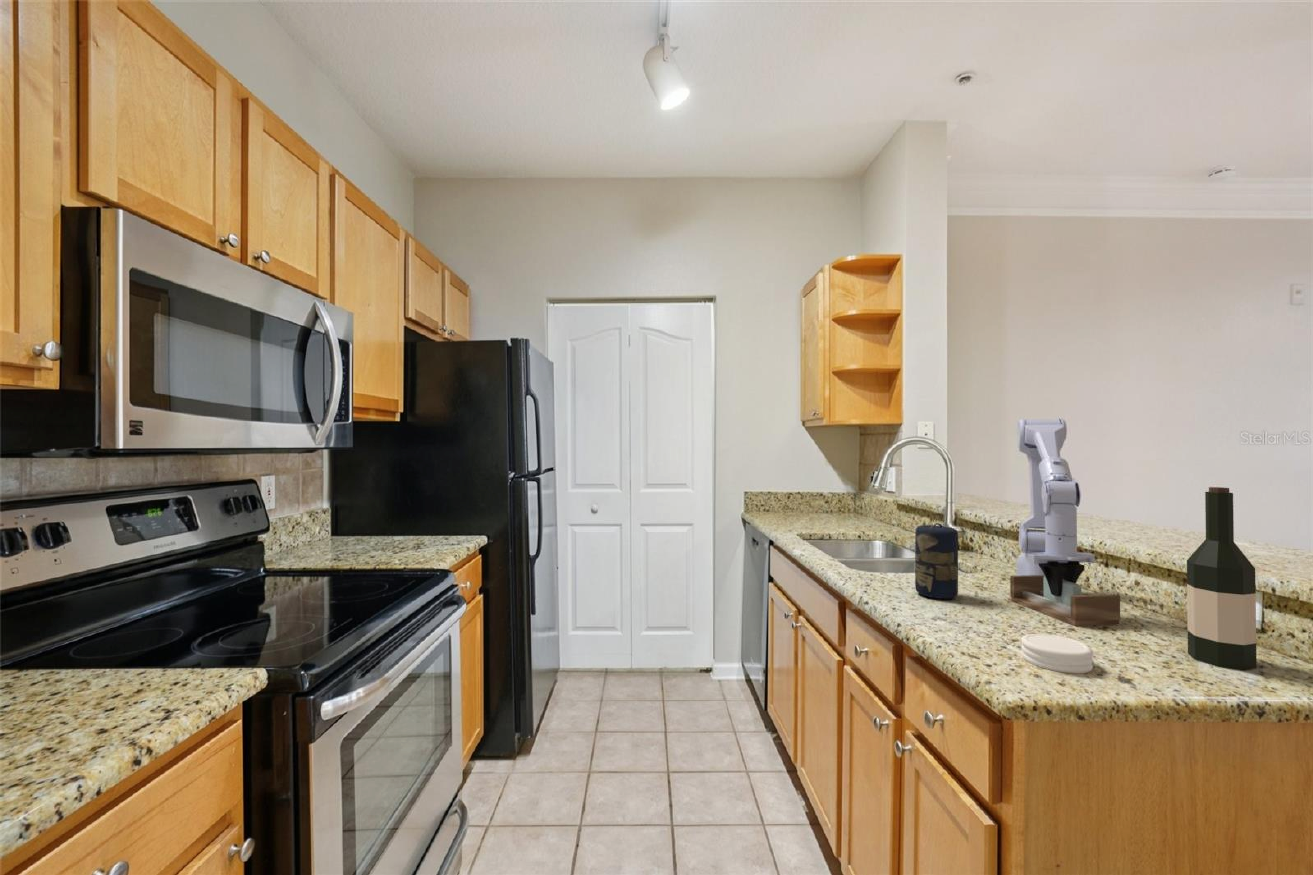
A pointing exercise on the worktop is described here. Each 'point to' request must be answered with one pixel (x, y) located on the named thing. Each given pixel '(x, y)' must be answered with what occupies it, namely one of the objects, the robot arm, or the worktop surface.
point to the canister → (936, 561)
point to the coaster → (1057, 653)
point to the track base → (1079, 614)
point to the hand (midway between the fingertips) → (1061, 595)
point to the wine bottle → (1221, 592)
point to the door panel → (1067, 590)
